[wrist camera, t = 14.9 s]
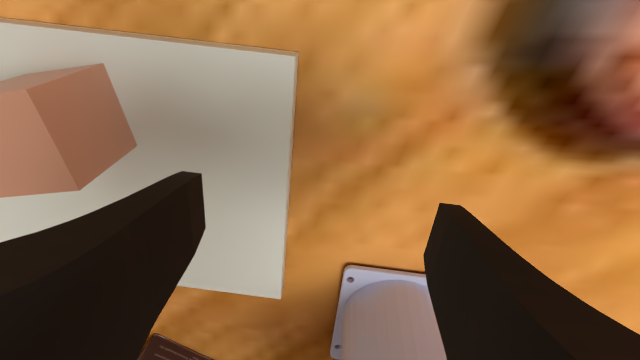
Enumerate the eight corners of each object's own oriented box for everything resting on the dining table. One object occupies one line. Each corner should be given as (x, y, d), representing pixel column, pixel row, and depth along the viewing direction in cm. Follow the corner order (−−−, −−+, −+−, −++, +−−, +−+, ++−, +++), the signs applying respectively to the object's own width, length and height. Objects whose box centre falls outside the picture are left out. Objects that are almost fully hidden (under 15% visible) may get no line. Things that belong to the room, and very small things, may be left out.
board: (283, 286, 26) (270, 344, 22) (-18, 247, 26) (-87, 297, 22) (298, 51, 18) (282, 73, 14) (-133, 2, 18) (-273, 8, 14)
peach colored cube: (103, 63, 18) (25, 89, 13) (137, 145, 20) (79, 190, 16) (24, 74, 18) (-74, 102, 14) (65, 153, 20) (-9, 198, 16)
